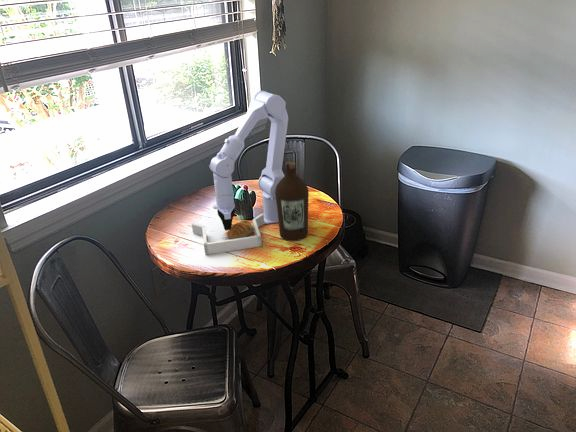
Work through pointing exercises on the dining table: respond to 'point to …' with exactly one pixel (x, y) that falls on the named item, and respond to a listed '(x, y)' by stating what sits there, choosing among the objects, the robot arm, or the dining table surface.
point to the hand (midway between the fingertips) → (227, 229)
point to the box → (232, 243)
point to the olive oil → (292, 205)
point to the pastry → (240, 230)
